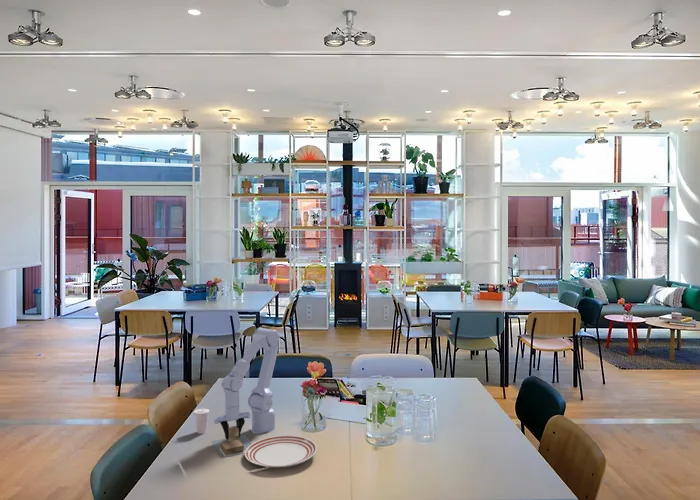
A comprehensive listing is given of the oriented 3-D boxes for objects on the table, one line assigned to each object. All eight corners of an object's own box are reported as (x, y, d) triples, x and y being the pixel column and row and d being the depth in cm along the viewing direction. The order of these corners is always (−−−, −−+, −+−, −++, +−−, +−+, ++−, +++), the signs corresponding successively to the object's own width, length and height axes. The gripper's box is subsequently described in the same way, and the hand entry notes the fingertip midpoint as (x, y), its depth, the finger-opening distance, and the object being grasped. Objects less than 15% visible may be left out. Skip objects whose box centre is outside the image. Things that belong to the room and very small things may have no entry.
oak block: (236, 437, 221) (235, 425, 220) (238, 440, 217) (238, 428, 217) (226, 439, 219) (226, 427, 218) (229, 442, 215) (229, 430, 215)
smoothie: (205, 436, 223) (205, 403, 222) (191, 435, 224) (190, 403, 224) (212, 431, 229) (211, 399, 229) (198, 430, 231) (198, 398, 230)
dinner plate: (257, 480, 184) (257, 470, 184) (236, 450, 208) (236, 442, 208) (329, 464, 197) (329, 455, 197) (301, 438, 221) (301, 430, 221)
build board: (244, 436, 223) (244, 434, 223) (258, 451, 208) (258, 450, 208) (211, 442, 217) (211, 441, 217) (223, 459, 201) (223, 457, 201)
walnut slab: (238, 445, 212) (238, 439, 212) (243, 451, 206) (243, 445, 206) (221, 449, 209) (220, 442, 209) (225, 455, 203) (225, 449, 203)
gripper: (246, 399, 224) (246, 431, 225) (212, 405, 217) (212, 437, 218) (251, 404, 218) (251, 436, 219) (216, 410, 211) (216, 443, 212)
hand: (232, 437), depth 218 cm, fingers open, 4 cm apart
